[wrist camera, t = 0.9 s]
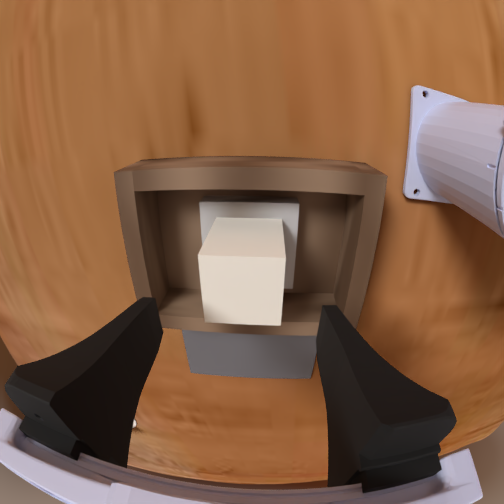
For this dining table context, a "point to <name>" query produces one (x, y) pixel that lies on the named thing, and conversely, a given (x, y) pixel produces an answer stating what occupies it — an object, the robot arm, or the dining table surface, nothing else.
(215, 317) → the cream block
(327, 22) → the dining table surface
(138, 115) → the dining table surface
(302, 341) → the charcoal mat
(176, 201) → the walnut box
